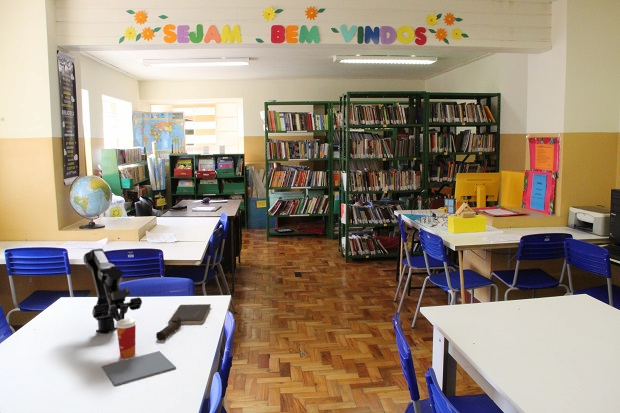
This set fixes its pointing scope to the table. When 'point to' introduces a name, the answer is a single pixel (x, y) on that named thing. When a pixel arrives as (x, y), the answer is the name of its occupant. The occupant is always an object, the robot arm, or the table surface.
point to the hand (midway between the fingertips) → (122, 325)
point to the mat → (137, 368)
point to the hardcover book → (191, 313)
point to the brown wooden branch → (169, 329)
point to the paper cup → (126, 337)
